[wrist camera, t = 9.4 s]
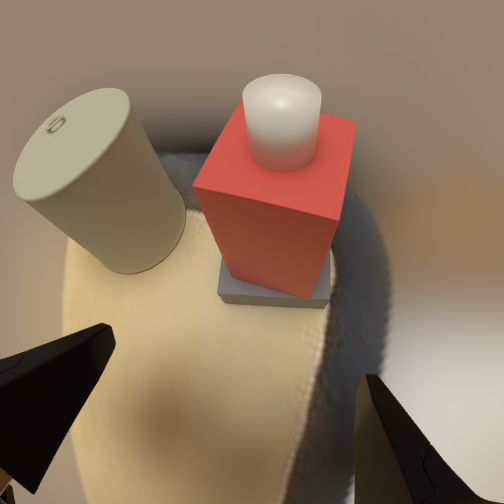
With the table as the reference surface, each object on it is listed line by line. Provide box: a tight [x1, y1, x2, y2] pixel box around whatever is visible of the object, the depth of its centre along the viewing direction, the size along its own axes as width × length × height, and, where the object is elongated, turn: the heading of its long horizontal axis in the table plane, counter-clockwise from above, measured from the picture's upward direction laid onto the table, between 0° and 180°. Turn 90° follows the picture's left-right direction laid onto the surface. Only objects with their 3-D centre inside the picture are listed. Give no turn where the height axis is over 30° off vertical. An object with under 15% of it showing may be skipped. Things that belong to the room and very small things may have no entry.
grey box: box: [217, 247, 330, 309], centre depth 20 cm, size 6×7×3 cm
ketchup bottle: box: [192, 74, 356, 299], centre depth 13 cm, size 5×5×12 cm
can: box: [13, 88, 186, 274], centre depth 19 cm, size 9×9×12 cm
